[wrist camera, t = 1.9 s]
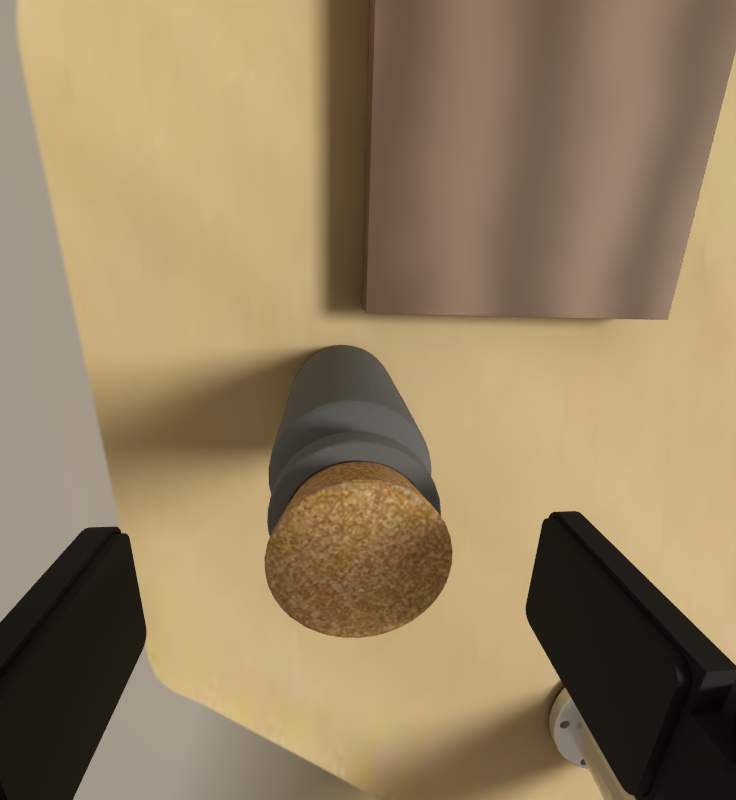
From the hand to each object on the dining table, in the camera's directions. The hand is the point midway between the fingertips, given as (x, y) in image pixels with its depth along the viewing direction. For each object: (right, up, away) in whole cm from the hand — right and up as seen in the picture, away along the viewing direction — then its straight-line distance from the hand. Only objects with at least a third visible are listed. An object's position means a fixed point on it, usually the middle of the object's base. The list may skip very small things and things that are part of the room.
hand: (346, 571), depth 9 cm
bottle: (-1, +4, +15) cm, 16 cm away
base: (+8, +17, +12) cm, 22 cm away
